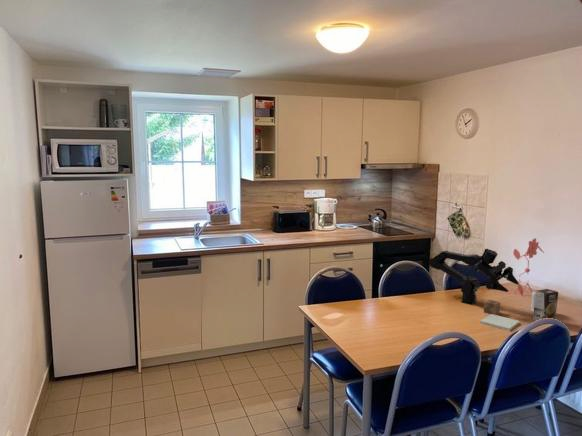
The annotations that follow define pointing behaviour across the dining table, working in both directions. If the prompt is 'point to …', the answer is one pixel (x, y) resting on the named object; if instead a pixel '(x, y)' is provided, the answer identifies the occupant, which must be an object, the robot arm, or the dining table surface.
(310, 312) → the dining table surface
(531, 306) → the small box
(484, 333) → the dining table surface
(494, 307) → the cube
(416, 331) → the dining table surface
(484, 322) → the plate
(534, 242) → the red branching piece
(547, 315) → the coffee box
